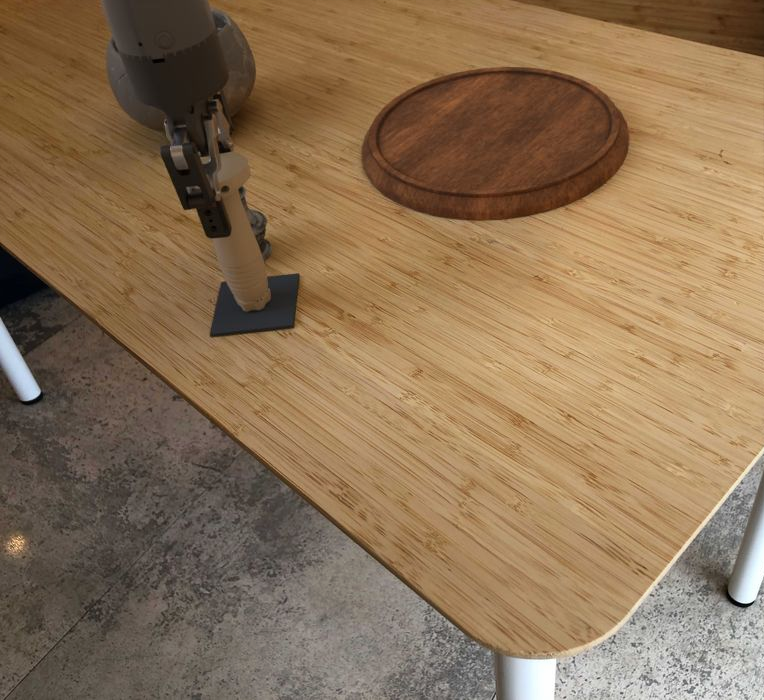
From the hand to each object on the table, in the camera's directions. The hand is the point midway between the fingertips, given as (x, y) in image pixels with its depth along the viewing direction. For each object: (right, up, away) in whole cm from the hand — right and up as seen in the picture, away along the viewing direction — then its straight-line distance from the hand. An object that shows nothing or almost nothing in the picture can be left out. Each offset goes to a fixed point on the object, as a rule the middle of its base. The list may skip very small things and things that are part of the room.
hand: (225, 212), depth 76 cm
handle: (+1, -8, +7) cm, 11 cm away
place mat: (+1, -8, +8) cm, 11 cm away
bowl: (-14, +18, +37) cm, 43 cm away
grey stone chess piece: (-2, -2, +14) cm, 15 cm away
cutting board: (+25, +12, +26) cm, 38 cm away
